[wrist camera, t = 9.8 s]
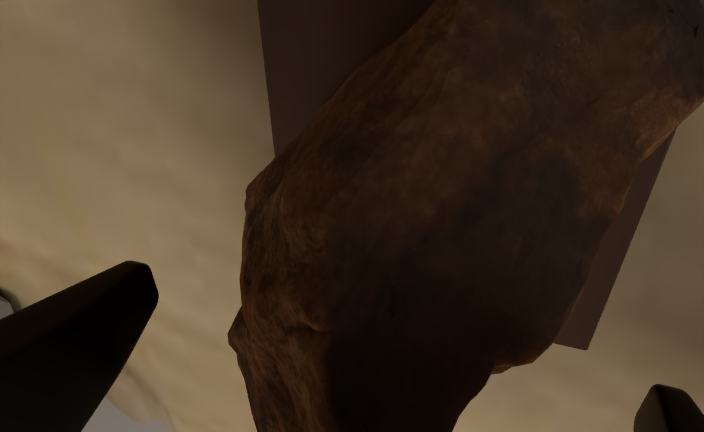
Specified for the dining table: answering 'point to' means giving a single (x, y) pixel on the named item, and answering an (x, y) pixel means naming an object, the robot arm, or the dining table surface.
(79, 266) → the dining table surface
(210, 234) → the dining table surface
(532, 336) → the decorative rock
